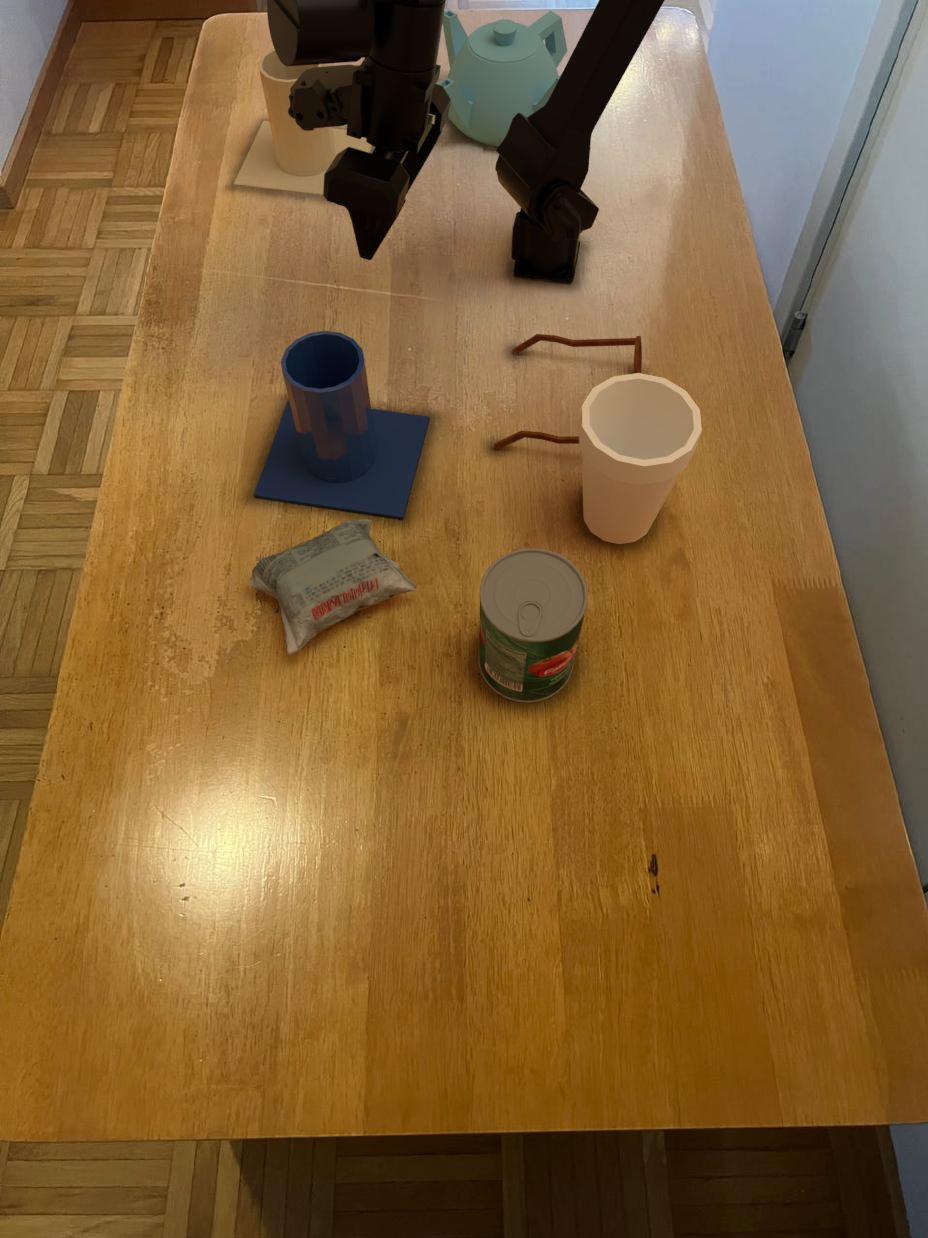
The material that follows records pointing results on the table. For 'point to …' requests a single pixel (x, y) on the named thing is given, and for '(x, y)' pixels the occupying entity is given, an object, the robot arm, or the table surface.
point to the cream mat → (268, 174)
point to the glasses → (571, 343)
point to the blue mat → (368, 494)
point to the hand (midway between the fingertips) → (380, 231)
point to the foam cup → (633, 452)
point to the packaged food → (328, 580)
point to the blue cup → (330, 405)
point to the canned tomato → (530, 623)
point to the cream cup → (292, 121)
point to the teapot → (500, 72)
